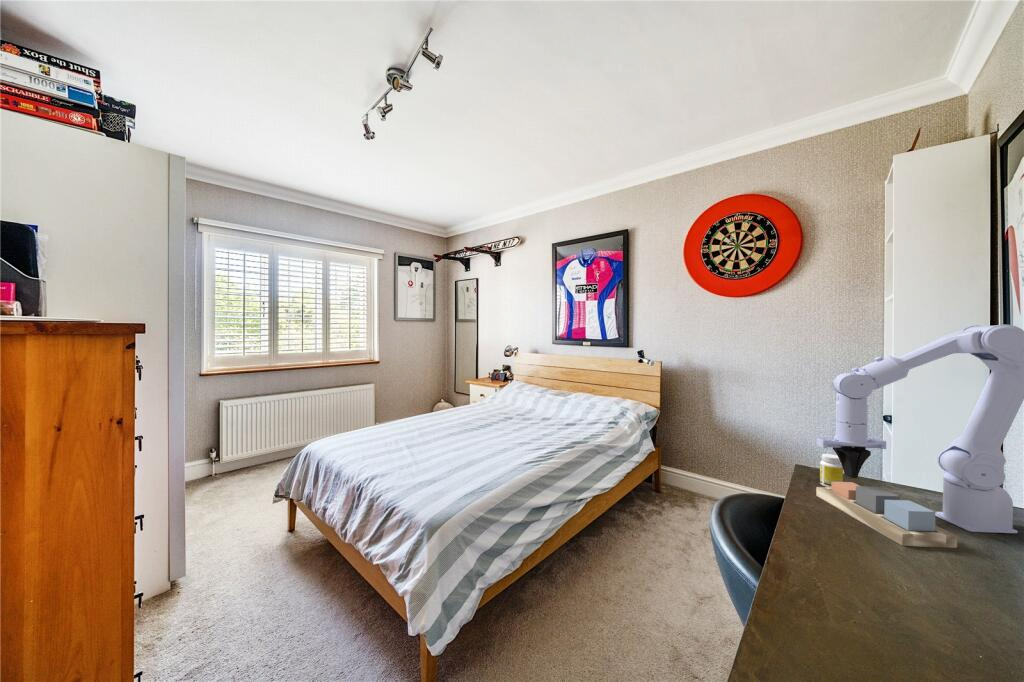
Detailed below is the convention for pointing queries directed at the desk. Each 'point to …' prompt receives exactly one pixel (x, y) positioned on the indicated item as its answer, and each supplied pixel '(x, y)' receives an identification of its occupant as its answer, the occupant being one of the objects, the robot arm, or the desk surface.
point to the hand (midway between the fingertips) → (850, 476)
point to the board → (888, 523)
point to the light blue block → (909, 515)
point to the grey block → (874, 498)
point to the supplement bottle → (830, 470)
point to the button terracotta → (845, 489)
